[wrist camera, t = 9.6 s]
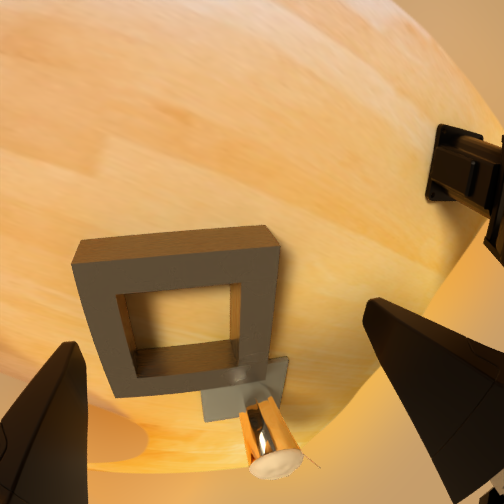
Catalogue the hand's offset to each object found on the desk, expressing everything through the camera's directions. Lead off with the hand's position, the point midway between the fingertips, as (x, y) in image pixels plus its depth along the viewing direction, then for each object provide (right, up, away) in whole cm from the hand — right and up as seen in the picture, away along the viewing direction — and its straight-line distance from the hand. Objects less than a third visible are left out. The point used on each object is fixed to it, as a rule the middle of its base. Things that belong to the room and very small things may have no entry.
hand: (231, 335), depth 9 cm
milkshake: (+1, -11, +20) cm, 23 cm away
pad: (0, -11, +20) cm, 23 cm away
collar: (-5, -2, +14) cm, 15 cm away
